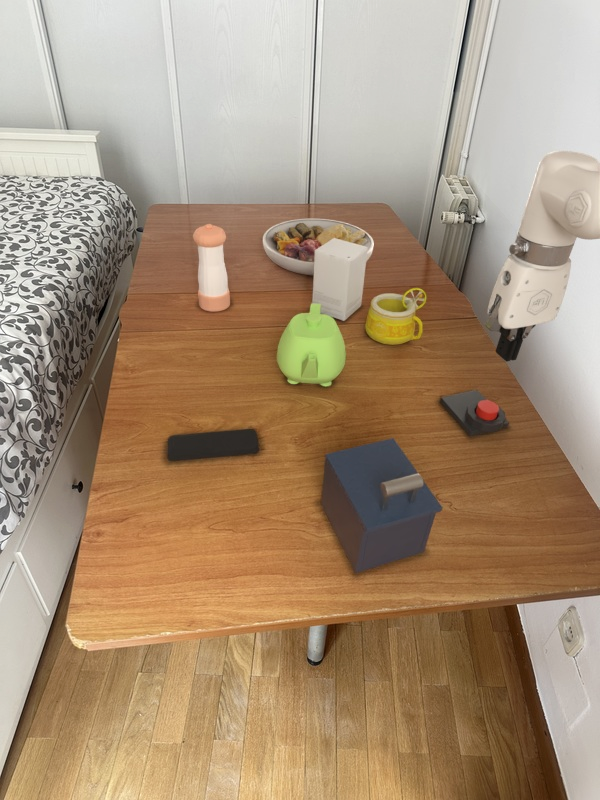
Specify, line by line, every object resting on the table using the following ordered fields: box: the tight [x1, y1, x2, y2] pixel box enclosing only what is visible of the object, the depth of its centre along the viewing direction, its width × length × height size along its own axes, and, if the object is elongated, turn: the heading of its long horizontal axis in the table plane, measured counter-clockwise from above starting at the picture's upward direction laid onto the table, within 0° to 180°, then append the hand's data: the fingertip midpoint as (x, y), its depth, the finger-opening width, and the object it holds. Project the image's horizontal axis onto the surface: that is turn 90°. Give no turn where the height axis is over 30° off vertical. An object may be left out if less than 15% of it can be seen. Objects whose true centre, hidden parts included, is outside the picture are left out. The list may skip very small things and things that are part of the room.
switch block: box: [439, 389, 510, 437], centre depth 97 cm, size 11×8×3 cm
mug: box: [364, 287, 427, 346], centre depth 114 cm, size 13×11×12 cm
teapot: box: [276, 302, 347, 387], centre depth 103 cm, size 20×13×13 cm
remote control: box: [166, 428, 260, 462], centre depth 89 cm, size 5×2×15 cm
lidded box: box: [320, 458, 437, 574], centre depth 75 cm, size 13×11×10 cm
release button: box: [476, 399, 500, 421], centre depth 94 cm, size 4×4×2 cm
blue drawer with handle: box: [324, 437, 443, 533], centre depth 70 cm, size 13×11×5 cm
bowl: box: [262, 217, 375, 277], centre depth 146 cm, size 30×30×8 cm
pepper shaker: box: [192, 223, 231, 312], centre depth 120 cm, size 7×7×19 cm
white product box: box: [311, 238, 368, 322], centre depth 122 cm, size 9×9×15 cm
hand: (505, 355), depth 87 cm, fingers closed
